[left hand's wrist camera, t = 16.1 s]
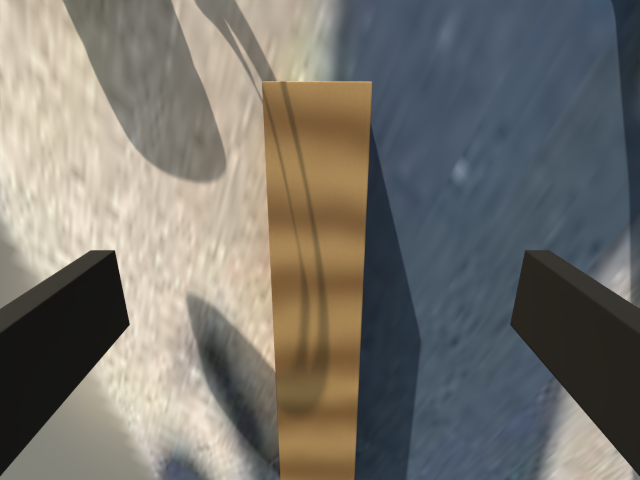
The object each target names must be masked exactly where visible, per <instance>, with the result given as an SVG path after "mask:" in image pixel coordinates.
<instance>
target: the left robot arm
mask: <svg viewBox="0 0 640 480" xmlns="http://www.w3.org/2000/svg"><path fill="white" fill-rule="evenodd" d="M129 325H130V324H129V319H128V314H127V309H126V304H125V299H124V294H123V289H122V284H121V279H120V274H119V269H118V264H117V259H116V254H115V250H91V251H89V252H88V253H86V254H85V255H83V256H81V257H80V258H78V259H77V260H75V261H74V262H72V263H71V264H69V265H68V266H66V267H64V268H63V269H61V270H60V271H58V272H57V273H55V274H54V275H52V276H51V277H49V278H47V279H46V280H44V281H43V282H41V283H40V284H38V285H37V286H35V287H34V288H32V289H30V290H29V291H27V292H26V293H24V294H23V295H21V296H20V297H18V298H16V299H15V300H13V301H12V302H10V303H9V304H7V305H6V306H4V307H3V308H1V309H0V476H1V475H2V474H3V472H4V471H5V470H6V469H7V468H8V466H9V465H10V464H11V463H12V462H13V461H14V459H15V458H16V457H17V456H18V455H19V454H20V452H21V451H22V450H23V449H24V448H25V447H26V445H27V444H28V443H29V442H30V441H31V440H32V438H33V437H34V436H35V435H36V434H37V433H38V431H39V430H40V429H41V428H42V427H43V426H44V424H45V423H46V422H47V421H48V420H49V419H50V417H51V416H52V415H53V414H54V413H55V412H56V410H57V409H58V408H59V407H60V406H61V405H62V403H63V402H64V401H65V400H66V399H67V397H68V396H69V395H70V394H71V393H72V392H73V390H74V389H75V388H76V387H77V386H78V385H79V383H80V382H81V381H82V380H83V379H84V378H85V376H86V375H87V374H88V373H89V372H90V371H91V369H92V368H93V367H94V366H95V365H96V364H97V362H98V361H99V360H100V359H101V358H102V357H103V355H104V354H105V353H106V352H107V351H108V350H109V348H110V347H111V346H112V345H113V344H114V343H115V341H116V340H117V339H118V338H119V337H120V336H121V334H122V333H123V332H124V331H125V330H126V329H127V327H128V326H129ZM510 325H511V326H512V327H513V329H514V330H515V331H516V332H517V333H518V334H519V336H520V337H521V338H522V339H523V340H524V341H525V343H526V344H527V345H528V346H529V347H530V348H531V350H532V351H533V352H534V353H535V354H536V355H537V357H538V358H539V359H540V360H541V361H542V362H543V364H544V365H545V366H546V367H547V368H548V369H549V371H550V372H551V373H552V374H553V375H554V376H555V378H556V379H557V380H558V381H559V382H560V383H561V385H562V386H563V387H564V388H565V389H566V390H567V392H568V393H569V394H570V395H571V396H572V398H573V399H574V400H575V401H576V402H577V403H578V405H579V406H580V407H581V408H582V409H583V410H584V412H585V413H586V414H587V415H588V416H589V417H590V419H591V420H592V421H593V422H594V423H595V424H596V426H597V427H598V428H599V429H600V430H601V431H602V433H603V434H604V435H605V436H606V437H607V438H608V440H609V441H610V442H611V443H612V444H613V445H614V447H615V448H616V449H617V450H618V451H619V452H620V454H621V455H622V456H623V457H624V458H625V459H626V461H627V462H628V463H629V464H630V465H631V467H632V468H633V469H634V470H635V471H636V472H637V474H638V475H639V476H640V309H639V308H637V307H636V306H634V305H633V304H631V303H630V302H628V301H627V300H625V299H624V298H622V297H620V296H619V295H617V294H616V293H614V292H613V291H611V290H610V289H608V288H606V287H605V286H603V285H602V284H600V283H599V282H597V281H596V280H594V279H593V278H591V277H589V276H588V275H586V274H585V273H583V272H582V271H580V270H579V269H577V268H576V267H574V266H572V265H571V264H569V263H568V262H566V261H565V260H563V259H562V258H560V257H559V256H557V255H555V254H554V253H552V252H551V251H549V250H525V254H524V259H523V264H522V269H521V274H520V279H519V284H518V289H517V294H516V299H515V304H514V309H513V314H512V319H511V324H510Z"/></svg>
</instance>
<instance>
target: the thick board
mask: <svg viewBox="0 0 640 480" xmlns="http://www.w3.org/2000/svg"><path fill="white" fill-rule="evenodd" d="M262 91H263V112H264V134H265V155H266V177H267V198H268V220H269V241H270V263H271V284H272V306H273V327H274V349H275V370H276V392H277V413H278V435H279V456H280V478H281V480H354V477H355V455H356V433H357V410H358V388H359V366H360V344H361V321H362V299H363V277H364V255H365V233H366V210H367V188H368V166H369V144H370V121H371V99H372V82H262Z"/></svg>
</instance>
